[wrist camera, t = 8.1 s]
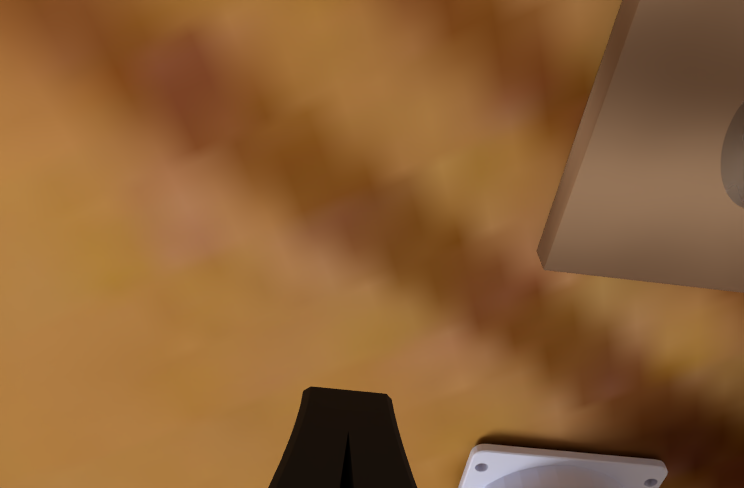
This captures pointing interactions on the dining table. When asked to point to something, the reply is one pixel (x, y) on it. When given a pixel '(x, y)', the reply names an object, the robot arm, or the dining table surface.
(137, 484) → the dining table surface
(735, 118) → the pipe
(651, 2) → the pipe board
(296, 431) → the robot arm
